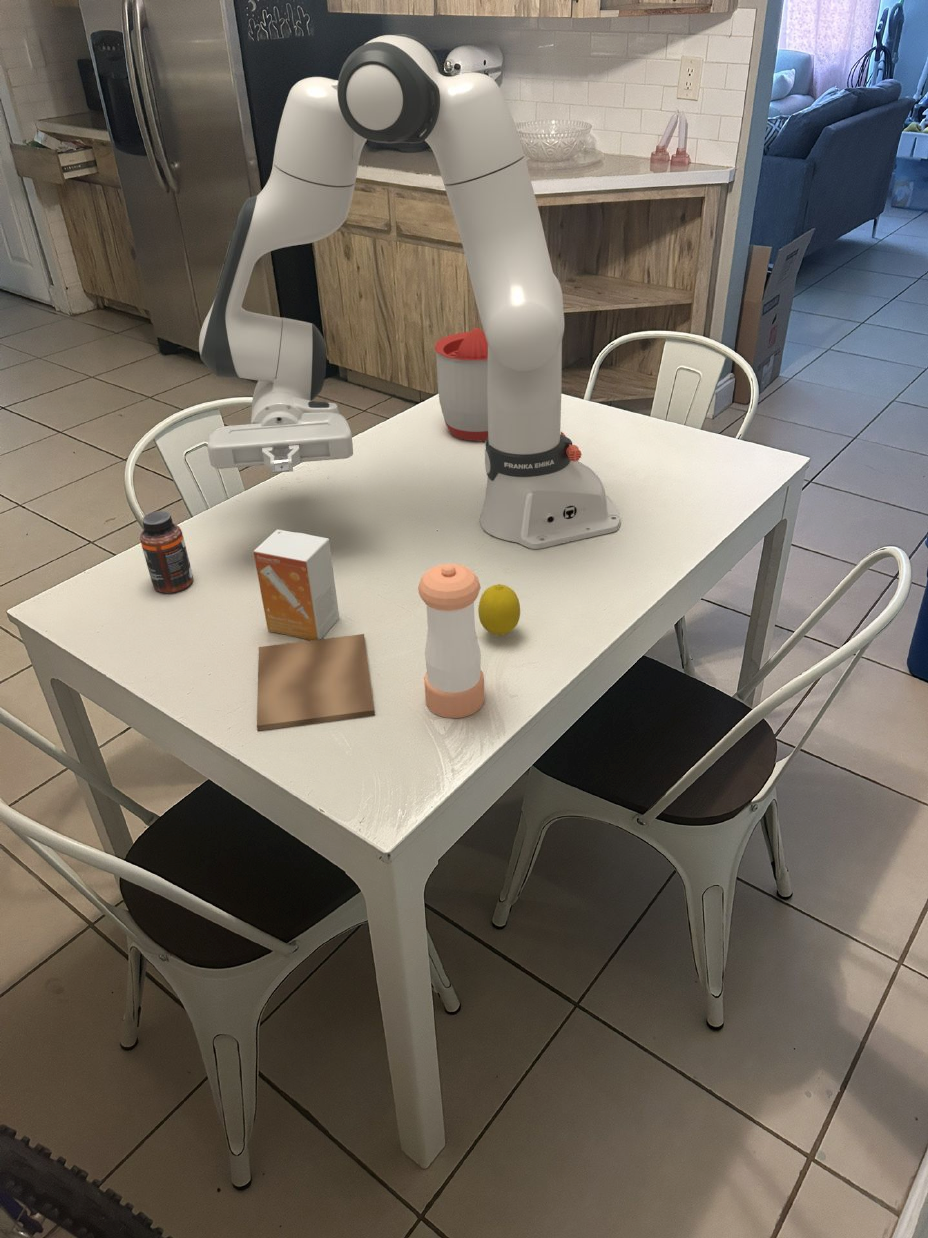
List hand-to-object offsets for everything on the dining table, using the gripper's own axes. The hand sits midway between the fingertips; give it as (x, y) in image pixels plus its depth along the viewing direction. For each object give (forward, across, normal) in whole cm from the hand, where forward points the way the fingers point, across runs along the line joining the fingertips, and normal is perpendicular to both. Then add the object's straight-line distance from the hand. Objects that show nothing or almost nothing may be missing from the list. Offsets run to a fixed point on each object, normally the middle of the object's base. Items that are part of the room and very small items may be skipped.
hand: (281, 467), depth 126 cm
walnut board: (+24, +2, +19) cm, 31 cm away
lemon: (+19, +27, +18) cm, 38 cm away
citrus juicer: (-48, +37, +18) cm, 63 cm away
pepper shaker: (+31, +19, +18) cm, 41 cm away
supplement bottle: (-4, -18, +19) cm, 27 cm away
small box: (+11, +1, +19) cm, 22 cm away
